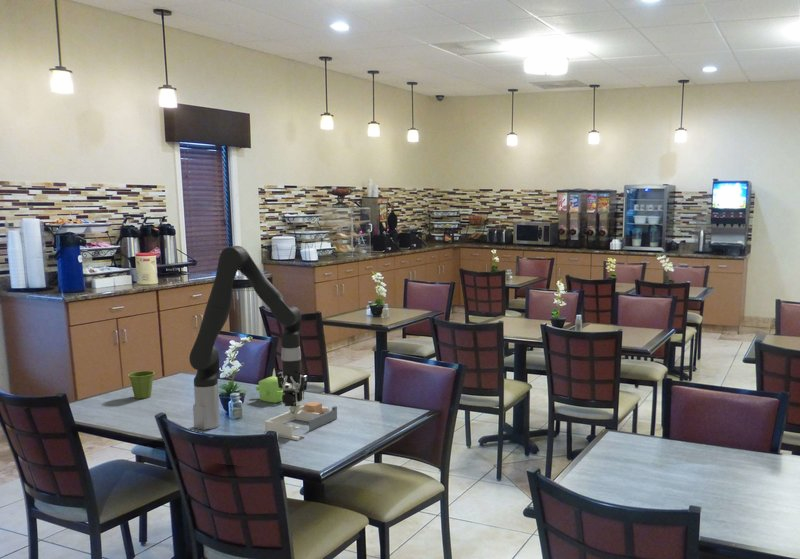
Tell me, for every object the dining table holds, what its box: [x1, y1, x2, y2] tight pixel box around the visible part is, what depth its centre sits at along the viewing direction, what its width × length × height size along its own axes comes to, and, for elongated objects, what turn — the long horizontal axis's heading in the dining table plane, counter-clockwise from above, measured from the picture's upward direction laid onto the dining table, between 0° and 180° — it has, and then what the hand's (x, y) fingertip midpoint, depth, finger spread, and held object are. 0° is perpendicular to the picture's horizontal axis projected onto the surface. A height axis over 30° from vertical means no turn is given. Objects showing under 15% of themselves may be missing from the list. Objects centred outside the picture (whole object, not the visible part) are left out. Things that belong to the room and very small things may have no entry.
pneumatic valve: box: [282, 384, 305, 416], centre depth 269 cm, size 6×12×12 cm, turn 167°
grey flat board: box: [308, 405, 338, 431], centre depth 272 cm, size 17×1×5 cm, turn 149°
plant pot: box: [127, 370, 156, 400], centre depth 321 cm, size 12×12×11 cm
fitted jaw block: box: [304, 401, 323, 415], centre depth 280 cm, size 5×5×6 cm
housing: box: [264, 404, 330, 441], centre depth 273 cm, size 26×16×5 cm, turn 149°
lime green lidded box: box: [255, 376, 285, 403], centre depth 313 cm, size 18×10×10 cm, turn 54°
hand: (292, 399), depth 269 cm, fingers closed on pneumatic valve, 5 cm apart
